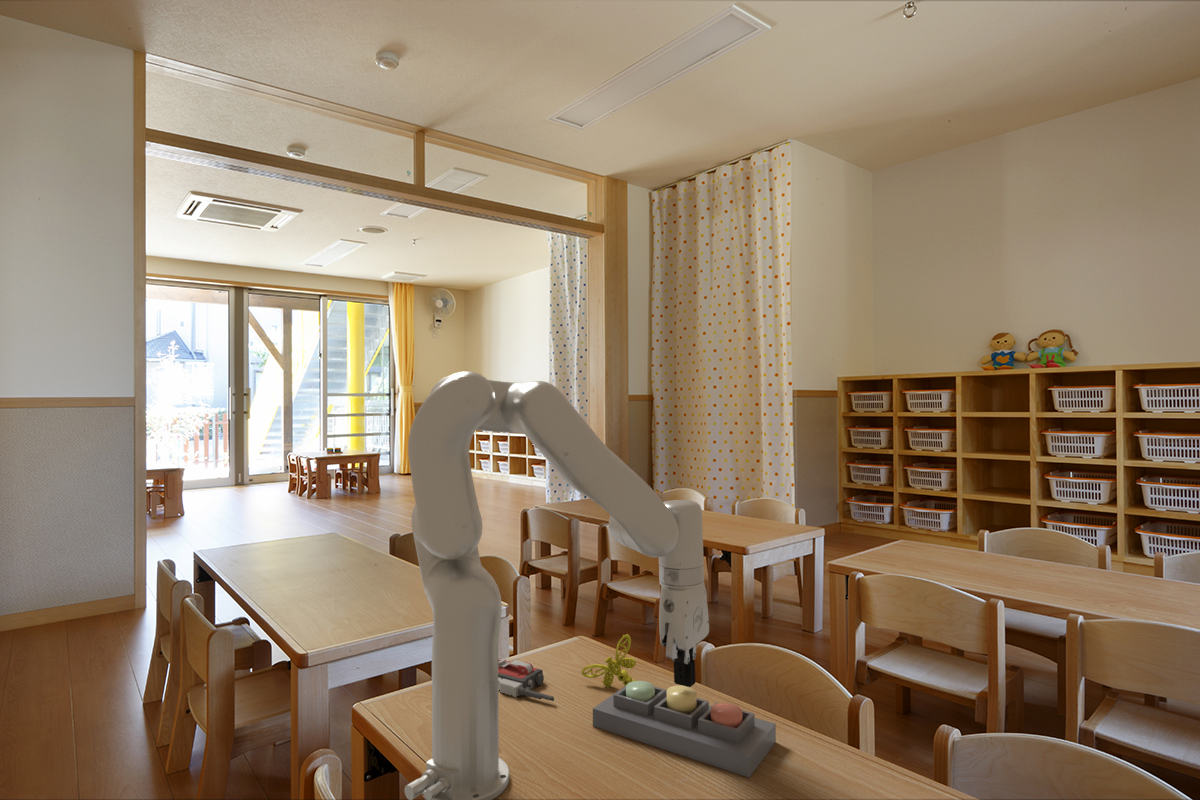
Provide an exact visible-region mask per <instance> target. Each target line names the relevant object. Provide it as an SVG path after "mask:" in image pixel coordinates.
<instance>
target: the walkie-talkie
mask: <svg viewBox="0 0 1200 800" xmlns="http://www.w3.org/2000/svg"><path fill="white" fill-rule="evenodd" d="M544 679H545V677H544V673H543V669H541V668H537V667H534V666H533V664H532V663H530V662H528V661H527V662H526V661H522V660H519V659H515V660H512V661H507V659H506V658H503V659H498V689H499V690H500V691H499V690H498V691H499V693H500V692H501V693H500V694H503V693H505V694H504V695H507V694H508V696H511V695H512V697H513V698H517V696H518V697H519V696H522V697H523V696H527V697H531V698H535V699H538V700H542V699H543V700H547V701H552V702H554V700H555V697H554V696H552V695H549V694H545V693H542V692H537V691H533V689H534V688H536V687H537V686H541V685H543V684H544ZM535 686H536V687H535ZM532 688H533V689H532Z"/></svg>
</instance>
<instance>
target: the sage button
mask: <svg viewBox="0 0 1200 800" xmlns="http://www.w3.org/2000/svg"><path fill="white" fill-rule="evenodd" d="M655 687H656V686H655V685H654V684H653V683H652V682H649V681H646V680H638V681H637V680H636V681H633V682H630V683H628V684H627V685H626V697H629V698H632V699H636V700H639V701H643V702H648V701H649V700H650V699H652V698H653V697H654V696H655Z"/></svg>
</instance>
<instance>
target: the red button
mask: <svg viewBox="0 0 1200 800" xmlns="http://www.w3.org/2000/svg"><path fill="white" fill-rule="evenodd" d="M714 704H715V703H714ZM714 704H712V705H711V706H712V707H711V721H712V722H716V723H719V724H723V725H726V726H730V727H733V728H737V727H738V726H739V725H740V724H741V723H742V722H743V719H742V710H743V709H742V708H741V707H739V706H738V705H736V704H732V703H726V702H725V703H724V702H722V703H721V702H719V703H718V704H715V705H714Z"/></svg>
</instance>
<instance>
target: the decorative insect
mask: <svg viewBox="0 0 1200 800" xmlns="http://www.w3.org/2000/svg"><path fill="white" fill-rule="evenodd" d="M624 639H625V640H624ZM623 640H624V641H623ZM622 641H623V642H622ZM626 643H628V644H627V647H626V646H625V644H626ZM631 644H632V639H631V636H630V635H629V634H628V633H627V634H623V635H622V637H621V638H620V639H619V640H618V642H617V644H616V649H615V659H613V658H612V657H611V656H608V657H607V658H605V661H604V662H605V663H606V664H607V665H605V664H598V663H593V664H589V665H586V666H585V667H584V668H583V669H582V670H581V675H582V676H583V677H584V678H588V679H592V678H598V677H600V676H602V675H604V677H603V680H602V683H603V684H602V685H603V686H604V687H606V688H607V689H609V688H610V686H612V684H613V682H614V679H615V678H614V677H616V676H617V679H618V681H620V682H622V684H623V685H624V686H626V685H627V684H628V683H630V682H633V681H639V680H636V679H633V678H632V676H631V675H629V672H628V671H627V670H628V669H633V668H635V667H636V664H637V661H636V660H635V658H633V657H626V656H627V654H628V652H629V651H630V648H631ZM620 647H622V648H624V649H621V650H620V651H619V648H620ZM622 652H624V653H623V655H621V654H622ZM620 655H621V656H620ZM594 668H599V669H596V670H595V672H594V673H593V669H594ZM622 668H623V669H622ZM624 668H625V669H624ZM626 669H627V670H626ZM585 671H586V672H585ZM600 671H601V672H600ZM598 672H600V673H598ZM589 673H590V674H589Z"/></svg>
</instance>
